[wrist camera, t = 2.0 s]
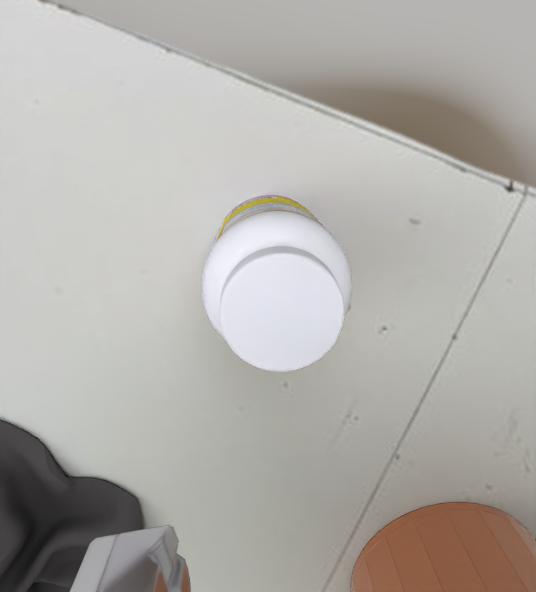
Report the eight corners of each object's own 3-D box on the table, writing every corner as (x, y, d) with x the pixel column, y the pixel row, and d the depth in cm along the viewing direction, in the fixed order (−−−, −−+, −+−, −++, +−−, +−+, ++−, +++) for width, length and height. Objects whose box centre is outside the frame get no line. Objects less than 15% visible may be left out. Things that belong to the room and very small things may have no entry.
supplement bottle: (293, 314, 31) (318, 423, 19) (199, 272, 30) (162, 357, 18) (342, 222, 30) (405, 275, 17) (244, 173, 29) (237, 193, 16)
